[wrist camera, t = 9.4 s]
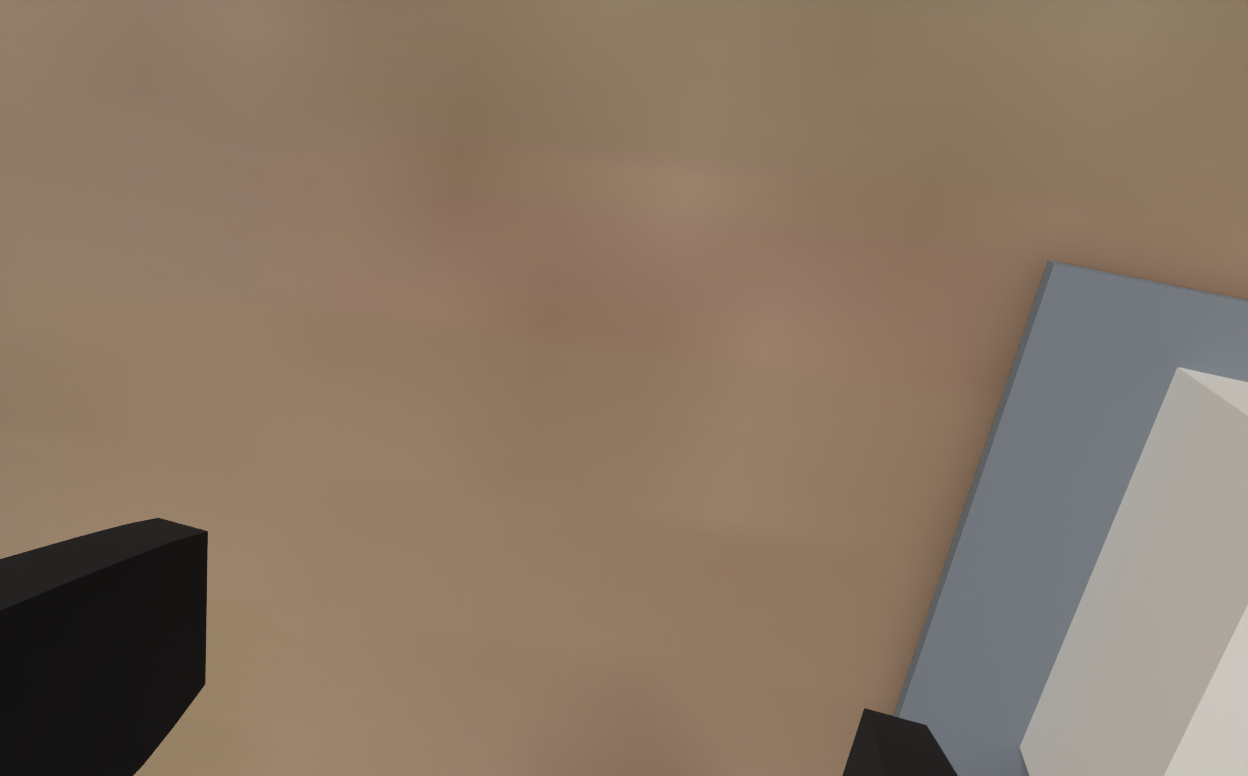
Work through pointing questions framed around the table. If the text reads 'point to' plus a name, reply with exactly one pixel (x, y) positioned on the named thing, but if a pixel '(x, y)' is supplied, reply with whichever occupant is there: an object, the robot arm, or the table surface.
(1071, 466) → the mat
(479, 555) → the table surface
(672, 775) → the table surface
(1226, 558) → the white rectangular block
